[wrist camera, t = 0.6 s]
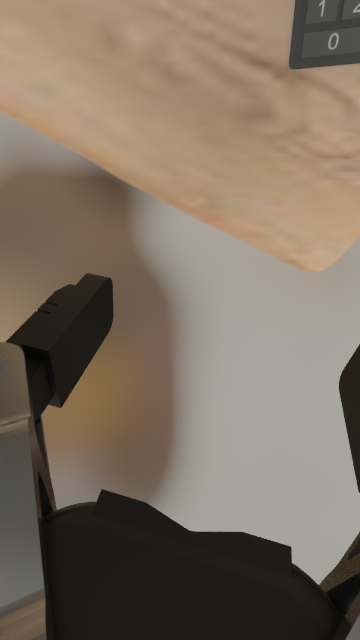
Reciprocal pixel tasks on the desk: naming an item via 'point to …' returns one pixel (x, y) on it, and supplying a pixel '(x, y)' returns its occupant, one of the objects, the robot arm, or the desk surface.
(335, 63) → the calculator
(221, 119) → the desk surface
